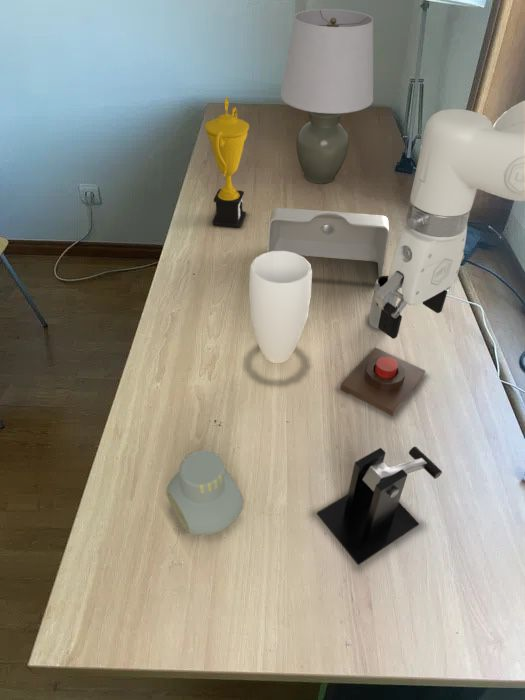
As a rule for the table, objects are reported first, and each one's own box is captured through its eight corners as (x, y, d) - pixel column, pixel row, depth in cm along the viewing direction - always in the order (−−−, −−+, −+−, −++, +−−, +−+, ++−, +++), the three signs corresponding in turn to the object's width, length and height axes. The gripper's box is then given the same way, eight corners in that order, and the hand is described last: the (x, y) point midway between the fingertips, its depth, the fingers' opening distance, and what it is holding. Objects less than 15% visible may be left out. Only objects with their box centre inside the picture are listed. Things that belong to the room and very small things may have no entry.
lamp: (264, 186, 155) (267, 22, 128) (294, 154, 172) (302, 3, 145) (348, 203, 149) (369, 34, 122) (370, 168, 165) (394, 12, 138)
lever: (411, 455, 80) (419, 442, 79) (437, 480, 77) (445, 467, 76) (354, 471, 73) (362, 458, 72) (380, 500, 70) (389, 486, 69)
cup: (256, 391, 97) (257, 290, 83) (241, 352, 105) (240, 253, 90) (312, 381, 100) (323, 280, 85) (294, 343, 107) (302, 245, 93)
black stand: (374, 482, 84) (389, 426, 75) (417, 528, 78) (438, 474, 70) (315, 517, 79) (324, 462, 71) (357, 568, 74) (371, 516, 65)
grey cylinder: (386, 335, 109) (395, 292, 102) (364, 327, 111) (372, 284, 104) (394, 322, 112) (403, 279, 105) (372, 315, 114) (381, 272, 107)
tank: (378, 249, 132) (387, 200, 124) (381, 289, 120) (391, 238, 112) (273, 241, 134) (274, 192, 126) (265, 279, 122) (266, 228, 114)
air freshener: (250, 524, 78) (250, 482, 72) (198, 554, 75) (193, 513, 68) (212, 469, 85) (209, 426, 78) (162, 494, 82) (155, 452, 75)
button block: (373, 356, 105) (376, 339, 102) (422, 379, 100) (427, 363, 98) (339, 392, 98) (342, 376, 95) (391, 420, 93) (396, 403, 90)
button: (381, 361, 98) (382, 353, 97) (399, 370, 97) (401, 362, 96) (371, 372, 96) (372, 365, 95) (390, 381, 95) (391, 374, 93)
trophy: (240, 244, 133) (239, 115, 113) (200, 240, 134) (192, 111, 114) (255, 206, 147) (256, 84, 127) (219, 202, 148) (214, 81, 128)
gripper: (414, 250, 65) (388, 358, 76) (502, 208, 73) (467, 311, 84) (367, 223, 69) (349, 329, 81) (455, 186, 77) (428, 287, 89)
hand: (410, 320), depth 83 cm, fingers open, 9 cm apart
